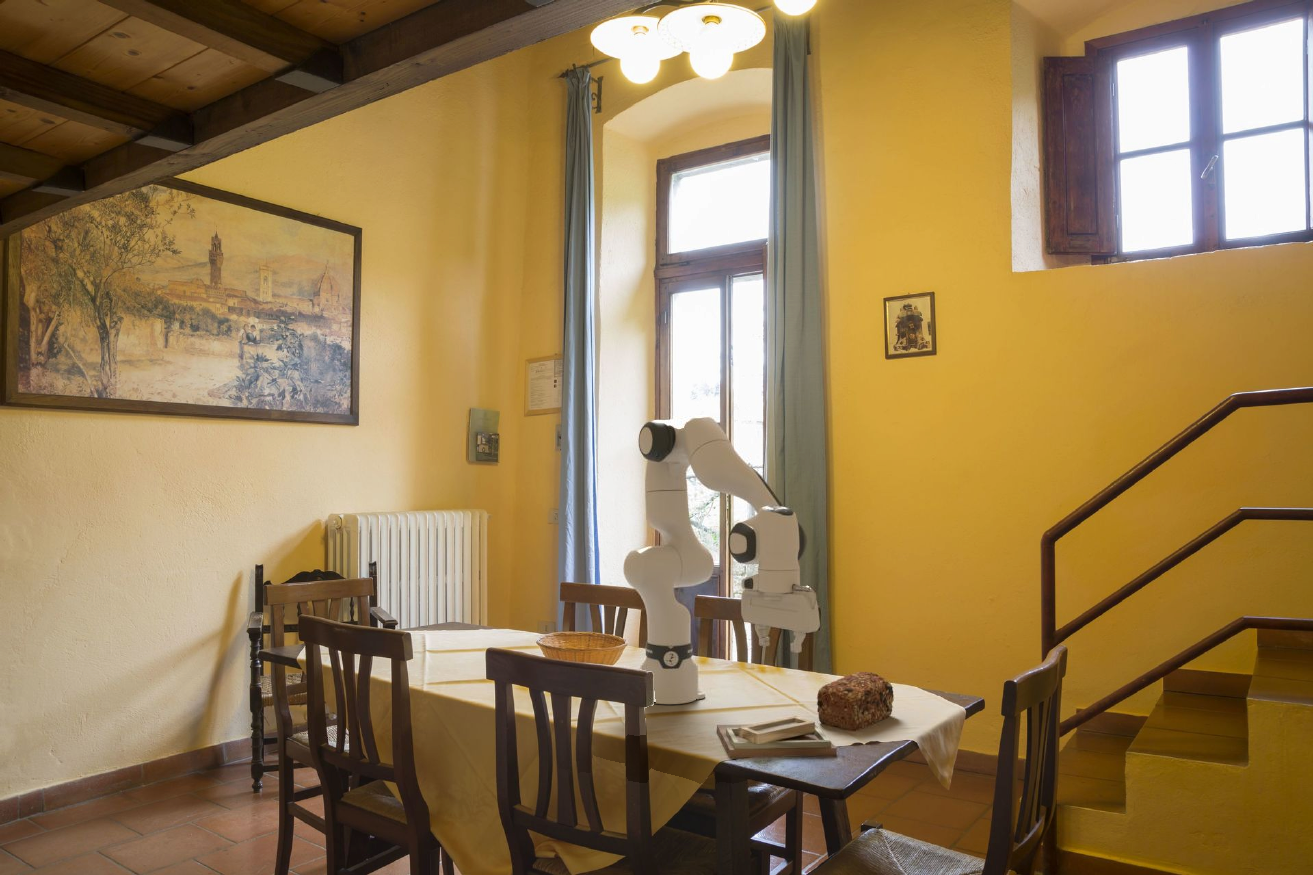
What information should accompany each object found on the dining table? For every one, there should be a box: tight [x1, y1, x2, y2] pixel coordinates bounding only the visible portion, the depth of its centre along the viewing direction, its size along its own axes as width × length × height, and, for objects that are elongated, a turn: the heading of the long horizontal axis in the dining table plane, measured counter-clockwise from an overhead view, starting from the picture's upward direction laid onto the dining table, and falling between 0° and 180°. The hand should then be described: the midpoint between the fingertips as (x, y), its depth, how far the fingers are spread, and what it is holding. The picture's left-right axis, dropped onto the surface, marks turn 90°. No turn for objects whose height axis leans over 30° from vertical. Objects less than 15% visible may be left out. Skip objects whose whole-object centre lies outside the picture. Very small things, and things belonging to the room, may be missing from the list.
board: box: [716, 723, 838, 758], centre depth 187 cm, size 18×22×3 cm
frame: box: [739, 715, 816, 744], centre depth 184 cm, size 6×16×2 cm, turn 125°
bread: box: [816, 671, 895, 732], centre depth 205 cm, size 19×11×10 cm, turn 137°
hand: (779, 648), depth 185 cm, fingers open, 8 cm apart
